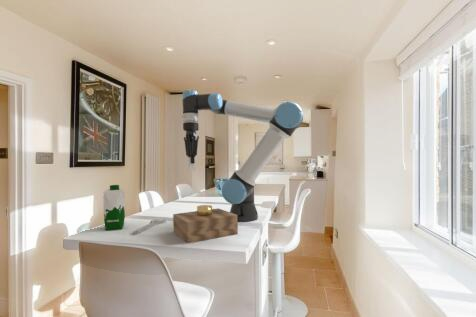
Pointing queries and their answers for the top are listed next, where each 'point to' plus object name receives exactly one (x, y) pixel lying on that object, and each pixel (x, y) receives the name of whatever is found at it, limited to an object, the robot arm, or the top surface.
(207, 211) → the pin
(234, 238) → the top surface
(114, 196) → the milk carton
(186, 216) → the block
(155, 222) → the adjustable wrench
